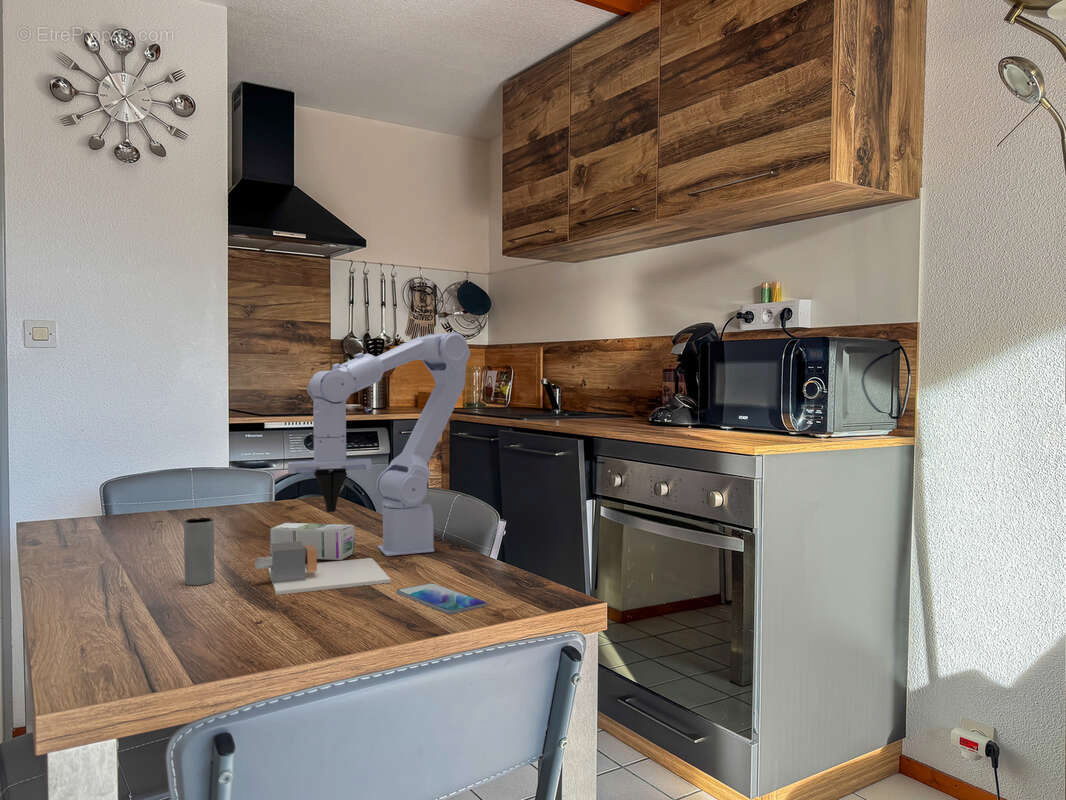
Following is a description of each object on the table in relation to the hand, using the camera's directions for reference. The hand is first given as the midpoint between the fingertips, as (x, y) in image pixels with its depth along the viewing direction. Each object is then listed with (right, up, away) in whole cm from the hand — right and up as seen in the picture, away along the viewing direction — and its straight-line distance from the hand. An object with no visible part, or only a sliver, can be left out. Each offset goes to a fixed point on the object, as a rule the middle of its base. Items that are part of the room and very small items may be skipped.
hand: (330, 511), depth 141 cm
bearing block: (-4, -10, -12) cm, 16 cm away
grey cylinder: (-18, -10, -13) cm, 25 cm away
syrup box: (-12, -6, +6) cm, 15 cm away
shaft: (-4, -8, -12) cm, 15 cm away
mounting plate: (+2, -10, -10) cm, 14 cm away
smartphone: (+23, -11, -23) cm, 34 cm away
